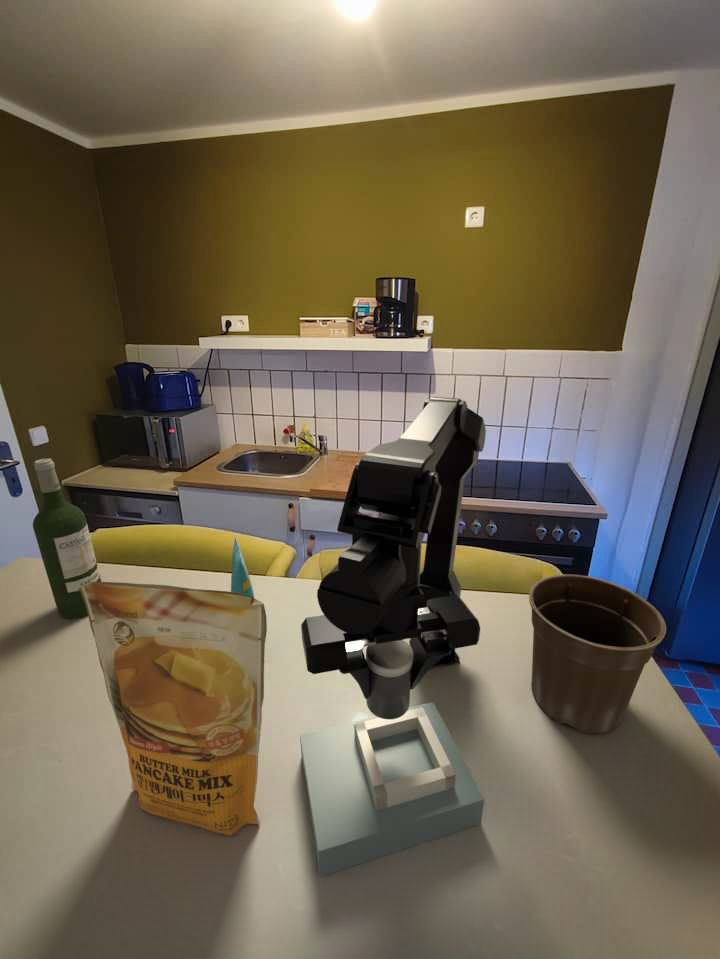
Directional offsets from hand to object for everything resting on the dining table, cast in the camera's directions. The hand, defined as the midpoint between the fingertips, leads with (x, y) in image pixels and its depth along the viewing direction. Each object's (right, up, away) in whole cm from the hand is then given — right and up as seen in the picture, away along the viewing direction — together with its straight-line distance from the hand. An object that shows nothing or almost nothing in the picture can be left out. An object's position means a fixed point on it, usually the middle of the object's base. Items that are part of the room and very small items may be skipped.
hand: (388, 691), depth 49 cm
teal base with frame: (0, -12, +2) cm, 13 cm away
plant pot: (+28, -8, +14) cm, 32 cm away
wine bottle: (-58, -1, +35) cm, 67 cm away
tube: (-22, -4, +24) cm, 33 cm away
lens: (0, -1, +1) cm, 2 cm away
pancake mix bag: (-22, -13, +1) cm, 26 cm away
